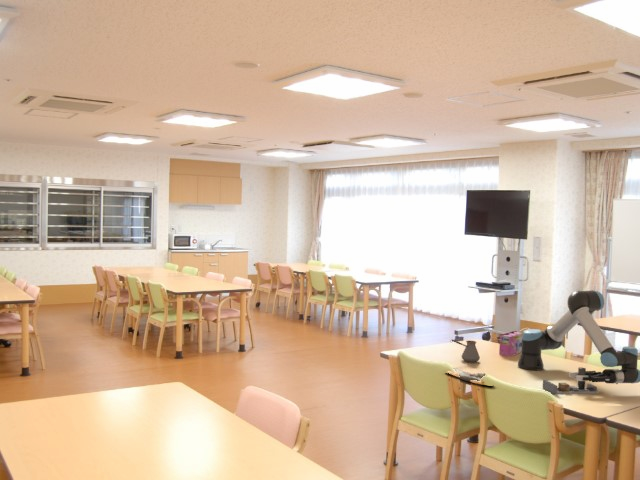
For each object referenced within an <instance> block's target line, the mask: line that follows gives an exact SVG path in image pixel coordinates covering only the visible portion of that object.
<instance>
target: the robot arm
mask: <svg viewBox="0 0 640 480" xmlns="http://www.w3.org/2000/svg"><path fill="white" fill-rule="evenodd" d="M604 306H605V298H604V295H603V294H602V293H601V292H600V291H598V290H576V291H574V292H572V293H570V295H569V296H568V298H567V307H568V311H567V312H565V314H564V315H563V316H561V317H560V319H558V320H557V322H555V323H554V324H553V325H549V326H548V327H546V328H545V329H544V330H541V329H538V328H537V329H536V328H529V329H528V328H527V329H525V330H523V331H522V332H521V333H522V351H521V353H520V356H519V359H518V361H517V367H518V368H520V369H523V370H528V371H529V370H530V371H542V370H544V361H543V358H542V351H547V350H556V349H559V348H561V347H562V346H563V344H564V340H565V335H566V334H568V333H569V332H570V331H571V330H572V329H573V328H574V327H575V326H576V325H578V324H580V326H581V327H582V329H583V330H584V331H585V334H586V335H587V337H589V339H590V340H591V342H592V343H593V345H594V347H595V348H596V350H597V352H599V354H600V356H599V357H600V364H602V365H603V366H604V367H606V368H605V369H604V370H602V371H596V370H586V374H585V376H578V371H572V372H570V371H569V372H568V378H571V379H572V378H573V379H574V378H575V381H576V382H578V381H585V382H592V383H606V384H615V385H619V384H637V383H640V369H638V359H639V353H638V351H639V350H638V349H637V348H636V347H633V346H623V347H622V349H621V351H616V349H615V348H614V346H613V345H612V343H611V342H610V340H609V339H608V338H607V336H606V335H605V332H604V331H603V330H602V329H601V326H599V324H598V322H597V321H596V320H595V319H594V317H593V315H592V314H594V312H596V311H597V312H599V311H601V310H602V309H603V308H604ZM609 367H610V368H609ZM615 367H621V368H615Z"/></svg>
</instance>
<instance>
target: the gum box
mask: <svg viewBox="0 0 640 480" xmlns="http://www.w3.org/2000/svg"><path fill="white" fill-rule="evenodd" d="M522 333H523V332H518V331H517V330H513V331H510V332H506V333H503V334H500V335H499V350H498V351H499V353H498V354H499V355H500V356H507V357H512V356H516V355H518V354H521V351H522Z"/></svg>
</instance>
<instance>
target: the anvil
mask: <svg viewBox="0 0 640 480" xmlns="http://www.w3.org/2000/svg"><path fill="white" fill-rule="evenodd" d="M557 388H558V385H556V384H554V383H553V382H551V381H549V380H547V379H542V389H543V390H545V391H546V390H547V391H546V392H548V391H549V392H548V393H550V392H551V393H550V394H552V395H553V394H557Z"/></svg>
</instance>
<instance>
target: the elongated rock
mask: <svg viewBox="0 0 640 480" xmlns="http://www.w3.org/2000/svg"><path fill="white" fill-rule="evenodd" d="M454 369H455V371H456V372H458V373H459V376H460V379H459V380H462V381H466V382H469V383H470V380H477V381H480V379H481V378H482V377H483V376H485V375H486V373H485V372H481V373H479V372H478V373H471V372H466V371H464V370H460V369H457V368H454ZM486 376H487V375H486Z"/></svg>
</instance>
